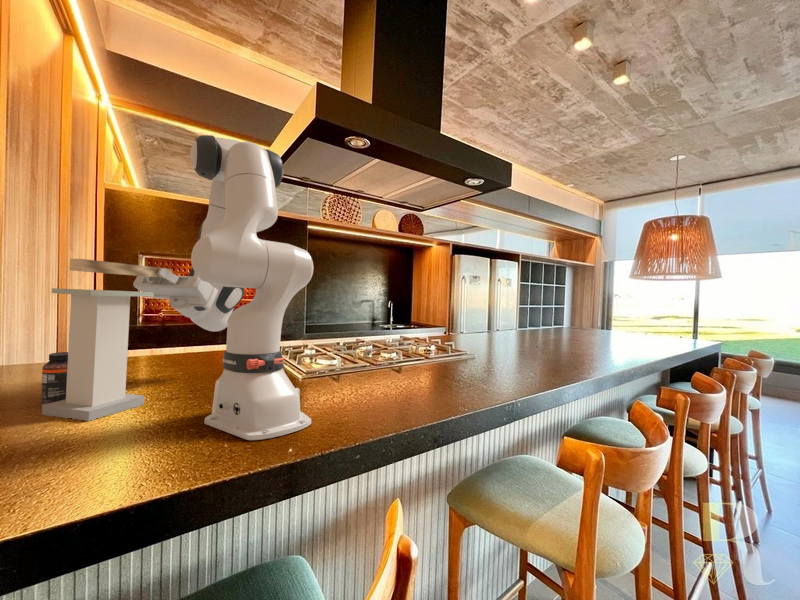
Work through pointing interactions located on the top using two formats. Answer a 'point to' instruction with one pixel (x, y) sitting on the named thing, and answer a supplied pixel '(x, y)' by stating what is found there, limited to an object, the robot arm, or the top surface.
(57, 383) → the supplement bottle
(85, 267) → the baton
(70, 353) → the stand
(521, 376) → the top surface
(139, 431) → the top surface
